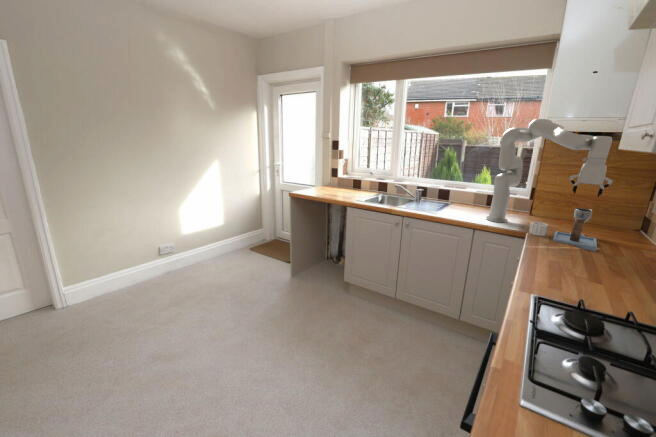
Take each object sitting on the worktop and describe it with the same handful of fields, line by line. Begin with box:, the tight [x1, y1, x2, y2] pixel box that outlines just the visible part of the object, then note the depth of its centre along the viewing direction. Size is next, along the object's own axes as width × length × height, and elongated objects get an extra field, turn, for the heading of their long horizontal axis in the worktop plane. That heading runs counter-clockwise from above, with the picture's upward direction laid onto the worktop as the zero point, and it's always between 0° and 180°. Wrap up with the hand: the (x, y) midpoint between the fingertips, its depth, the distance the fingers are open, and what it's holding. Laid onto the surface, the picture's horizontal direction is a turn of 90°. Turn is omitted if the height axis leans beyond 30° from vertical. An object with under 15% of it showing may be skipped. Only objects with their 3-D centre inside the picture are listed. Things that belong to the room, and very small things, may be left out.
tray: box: [552, 230, 598, 252], centre depth 164 cm, size 18×18×2 cm
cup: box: [528, 221, 549, 237], centre depth 174 cm, size 8×8×7 cm
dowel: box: [570, 218, 585, 242], centre depth 163 cm, size 4×4×12 cm
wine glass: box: [569, 207, 593, 237], centre depth 177 cm, size 8×8×15 cm
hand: (586, 194), depth 158 cm, fingers open, 9 cm apart
